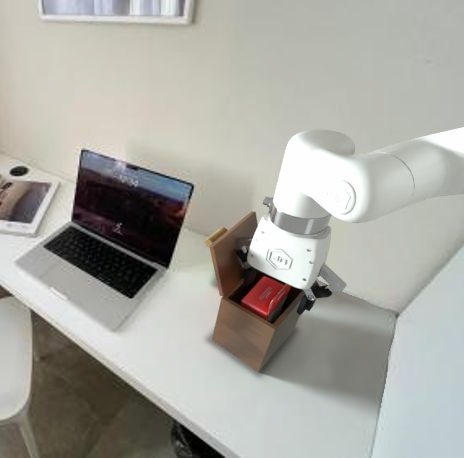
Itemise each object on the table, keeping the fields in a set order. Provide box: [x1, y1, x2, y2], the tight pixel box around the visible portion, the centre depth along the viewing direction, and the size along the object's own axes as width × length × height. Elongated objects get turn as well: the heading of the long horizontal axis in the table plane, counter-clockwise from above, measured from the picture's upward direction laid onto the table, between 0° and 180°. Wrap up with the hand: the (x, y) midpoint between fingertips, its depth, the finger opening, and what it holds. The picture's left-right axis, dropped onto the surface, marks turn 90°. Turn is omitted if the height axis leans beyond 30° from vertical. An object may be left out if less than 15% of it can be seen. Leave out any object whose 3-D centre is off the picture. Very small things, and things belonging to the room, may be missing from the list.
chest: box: [211, 270, 305, 373], centre depth 68 cm, size 10×14×13 cm
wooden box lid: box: [204, 211, 259, 297], centre depth 67 cm, size 10×14×5 cm
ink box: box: [240, 276, 291, 324], centre depth 67 cm, size 8×5×15 cm, turn 131°
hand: (274, 295), depth 63 cm, fingers open, 9 cm apart
